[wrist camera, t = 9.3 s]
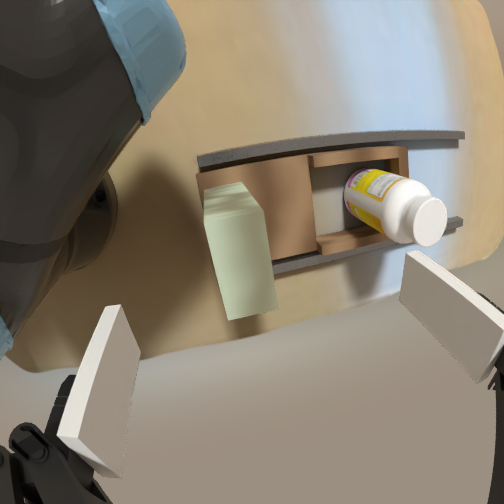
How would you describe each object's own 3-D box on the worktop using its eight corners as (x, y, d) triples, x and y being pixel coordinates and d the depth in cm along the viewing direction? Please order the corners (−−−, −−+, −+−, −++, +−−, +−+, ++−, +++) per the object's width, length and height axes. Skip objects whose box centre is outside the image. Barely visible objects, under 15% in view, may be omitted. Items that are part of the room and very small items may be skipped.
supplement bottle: (380, 219, 36) (444, 258, 24) (338, 216, 35) (397, 258, 23) (389, 170, 33) (459, 193, 22) (345, 162, 32) (413, 183, 20)
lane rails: (224, 279, 36) (225, 285, 34) (197, 155, 29) (196, 156, 28) (456, 223, 39) (462, 226, 37) (457, 130, 32) (464, 131, 31)
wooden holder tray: (217, 267, 35) (226, 337, 23) (196, 173, 30) (190, 200, 18) (395, 227, 36) (459, 268, 25) (393, 144, 32) (468, 159, 20)
